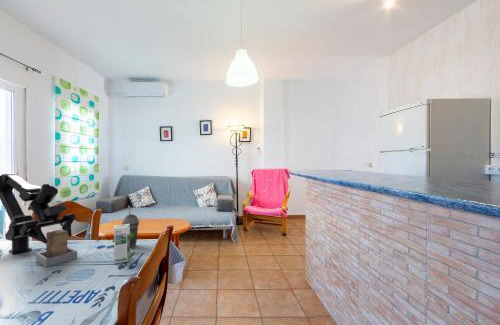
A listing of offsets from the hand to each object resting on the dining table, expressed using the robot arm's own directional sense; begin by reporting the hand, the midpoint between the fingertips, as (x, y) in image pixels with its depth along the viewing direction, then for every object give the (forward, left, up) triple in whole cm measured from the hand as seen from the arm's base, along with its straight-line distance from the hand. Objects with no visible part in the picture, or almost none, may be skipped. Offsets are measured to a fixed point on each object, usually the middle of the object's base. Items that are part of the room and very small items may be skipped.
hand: (59, 239), depth 101 cm
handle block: (-1, 0, -8) cm, 8 cm away
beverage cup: (+10, +25, -9) cm, 29 cm away
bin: (-1, 0, -9) cm, 9 cm away
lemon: (+14, +19, -9) cm, 25 cm away
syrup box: (+22, +14, -9) cm, 27 cm away
